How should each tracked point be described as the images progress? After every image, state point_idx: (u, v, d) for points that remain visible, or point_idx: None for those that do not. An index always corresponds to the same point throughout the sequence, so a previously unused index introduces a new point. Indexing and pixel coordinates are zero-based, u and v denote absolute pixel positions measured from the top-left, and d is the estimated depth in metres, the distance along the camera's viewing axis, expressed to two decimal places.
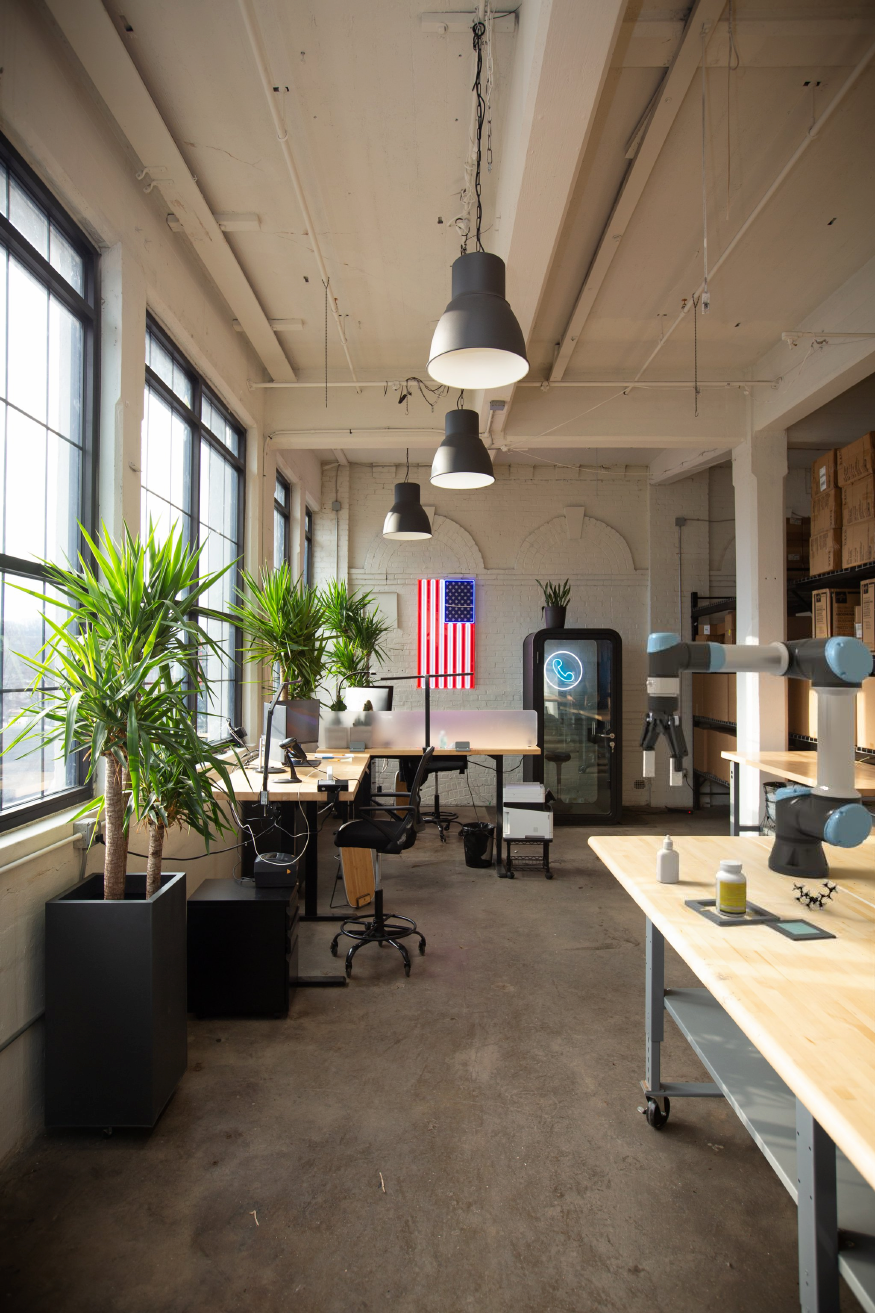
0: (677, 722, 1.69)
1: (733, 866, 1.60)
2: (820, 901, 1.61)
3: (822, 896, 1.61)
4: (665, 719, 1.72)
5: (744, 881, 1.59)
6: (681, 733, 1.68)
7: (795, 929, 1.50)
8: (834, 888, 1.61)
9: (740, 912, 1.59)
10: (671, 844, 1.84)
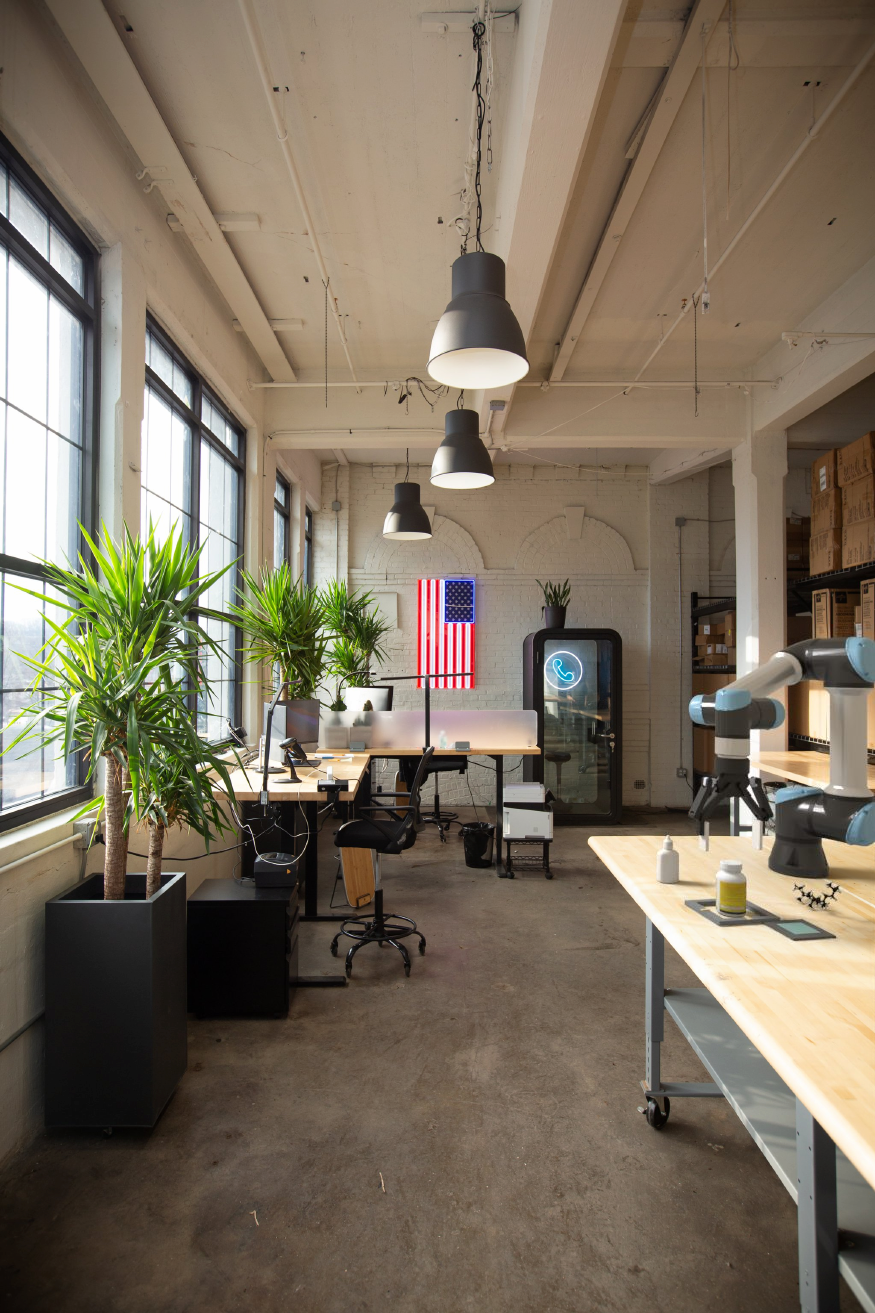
0: (704, 783, 1.60)
1: (733, 866, 1.60)
2: (824, 901, 1.61)
3: (825, 896, 1.61)
4: None
5: (744, 881, 1.59)
6: (701, 795, 1.60)
7: (795, 929, 1.50)
8: (837, 888, 1.61)
9: (740, 912, 1.59)
10: (671, 844, 1.84)
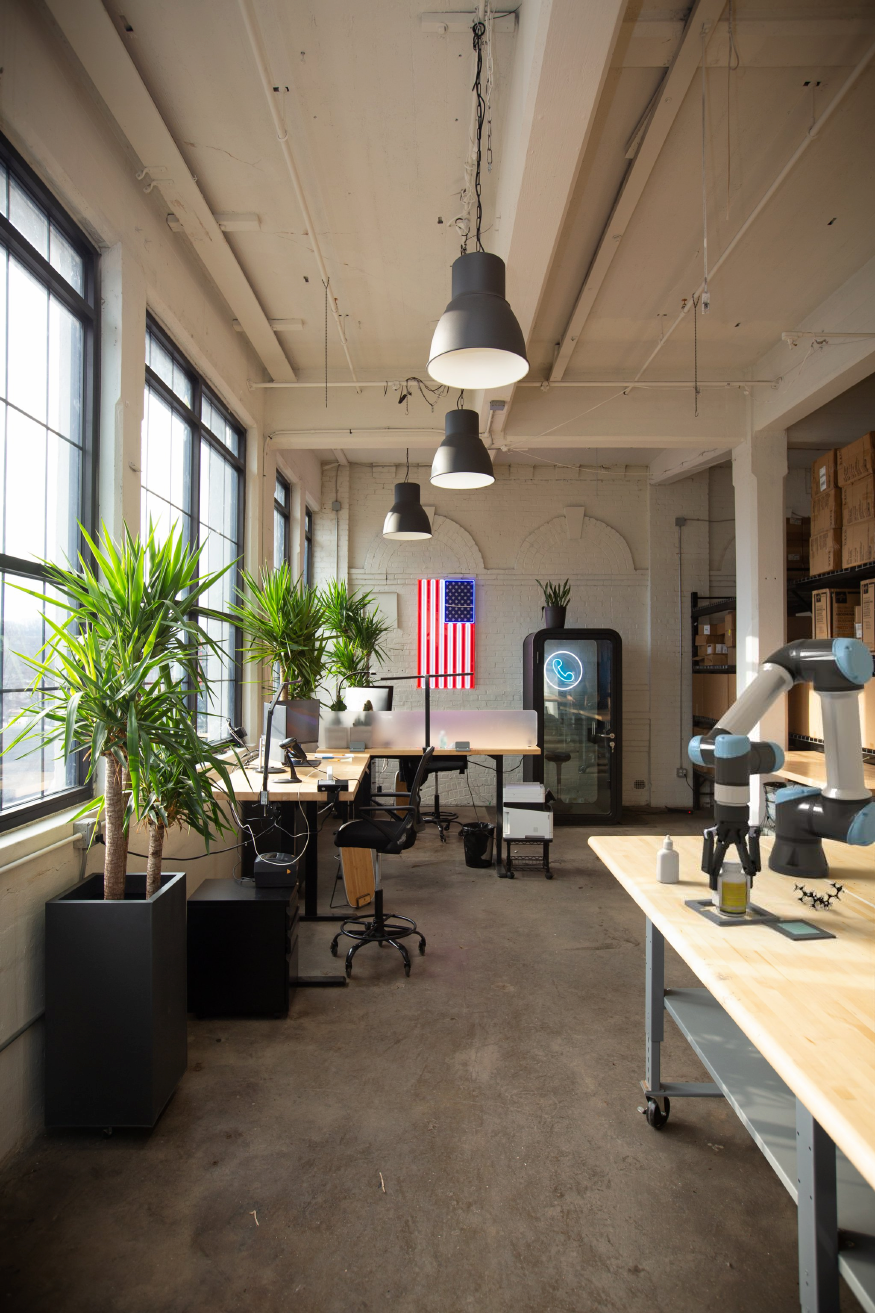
0: (706, 837, 1.60)
1: (733, 866, 1.60)
2: (828, 901, 1.61)
3: (829, 896, 1.61)
4: None
5: (744, 881, 1.59)
6: (707, 849, 1.60)
7: (795, 929, 1.50)
8: (841, 888, 1.61)
9: (740, 911, 1.58)
10: (671, 844, 1.84)
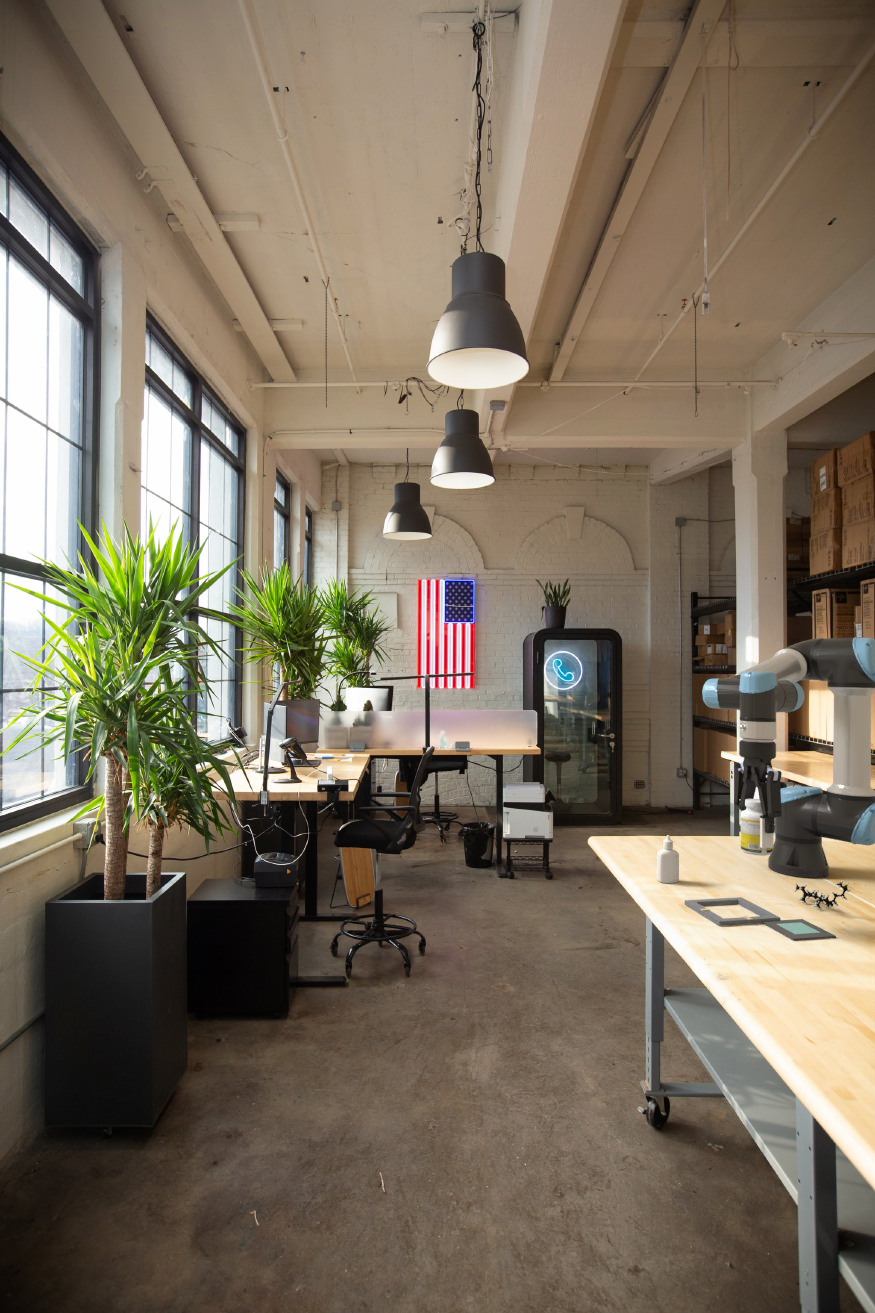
0: (776, 778, 1.52)
1: None
2: (834, 901, 1.61)
3: (836, 896, 1.62)
4: (762, 768, 1.54)
5: None
6: (778, 791, 1.52)
7: (795, 929, 1.50)
8: (846, 887, 1.62)
9: None
10: (671, 844, 1.84)
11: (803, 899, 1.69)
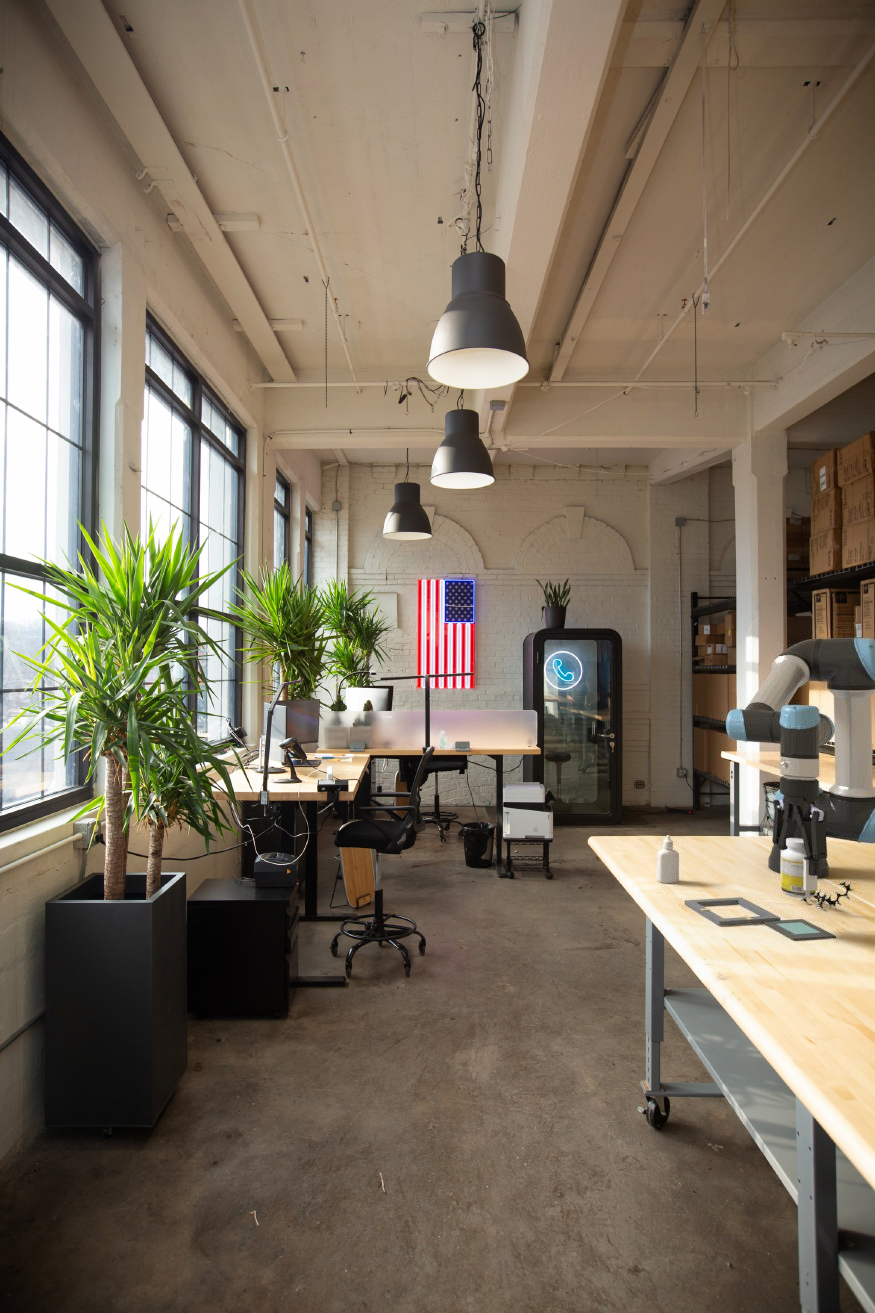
0: (821, 818, 1.45)
1: None
2: (837, 901, 1.62)
3: (839, 895, 1.62)
4: (805, 807, 1.48)
5: None
6: (823, 832, 1.45)
7: (795, 929, 1.50)
8: (849, 886, 1.62)
9: None
10: (671, 844, 1.84)
11: (804, 899, 1.69)
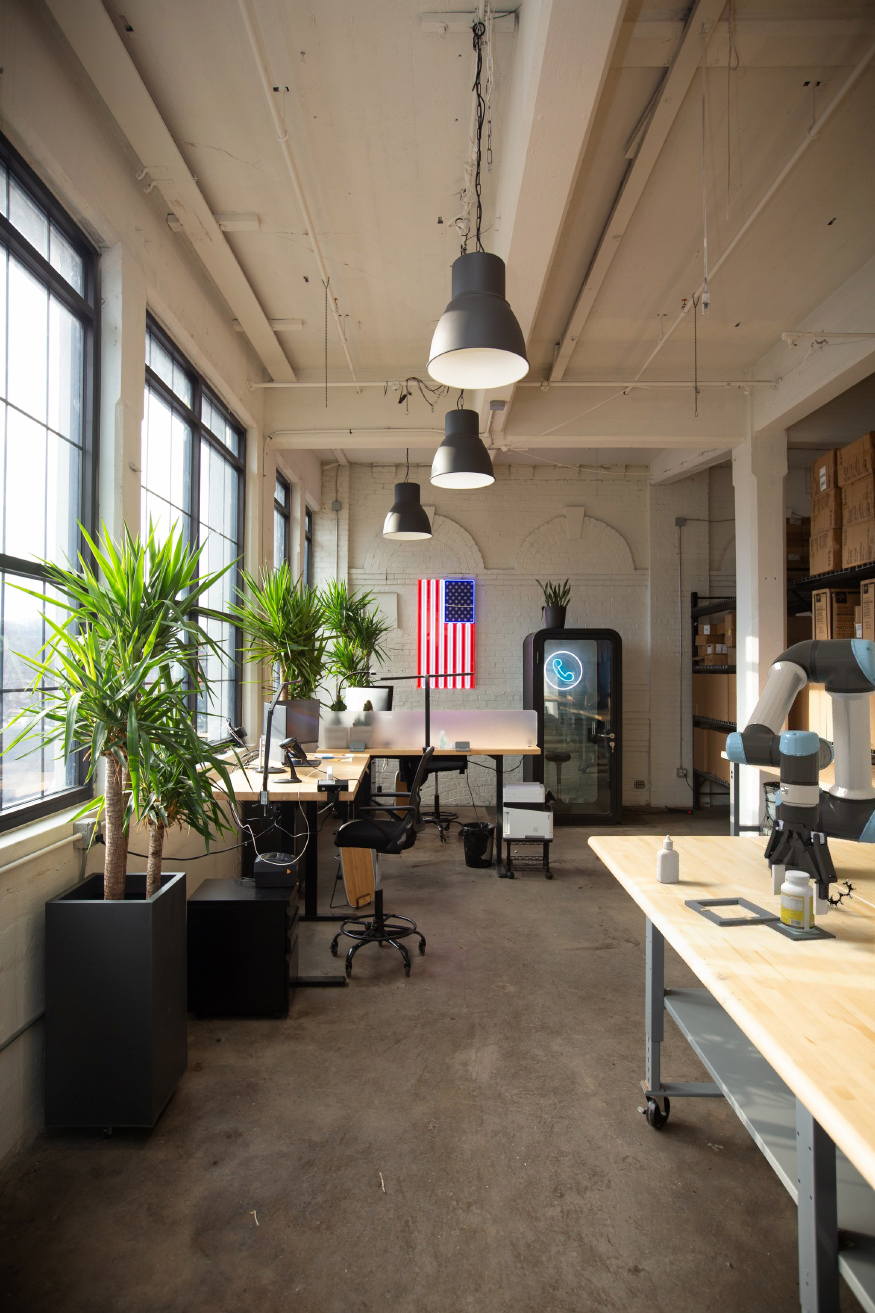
0: (822, 841, 1.45)
1: None
2: (840, 900, 1.62)
3: (841, 895, 1.62)
4: (805, 834, 1.48)
5: None
6: (828, 854, 1.44)
7: None
8: (851, 886, 1.63)
9: None
10: (671, 844, 1.84)
11: None
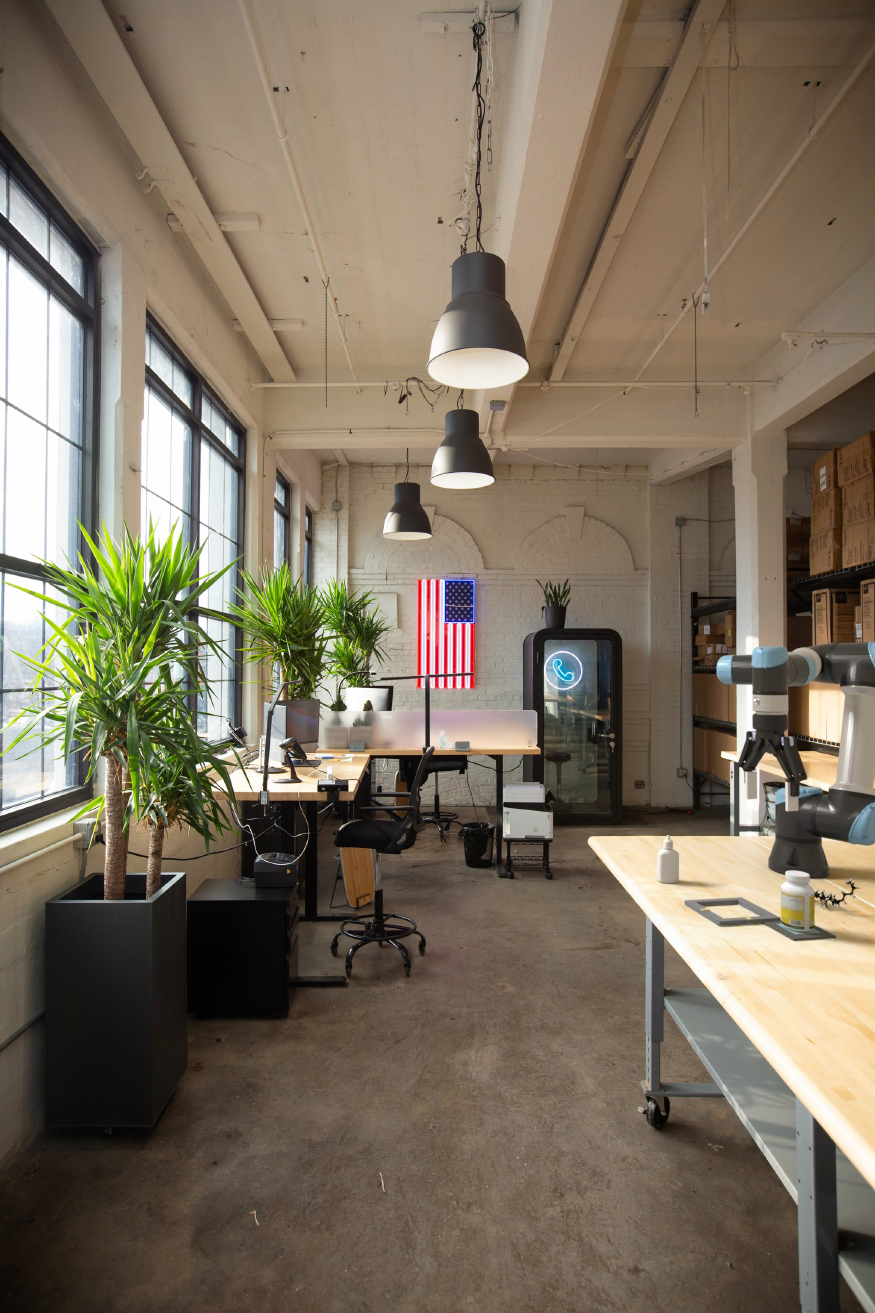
0: (792, 743, 1.57)
1: None
2: (844, 900, 1.62)
3: (845, 894, 1.63)
4: (776, 739, 1.60)
5: None
6: (797, 755, 1.56)
7: None
8: (853, 885, 1.63)
9: None
10: (671, 844, 1.84)
11: None
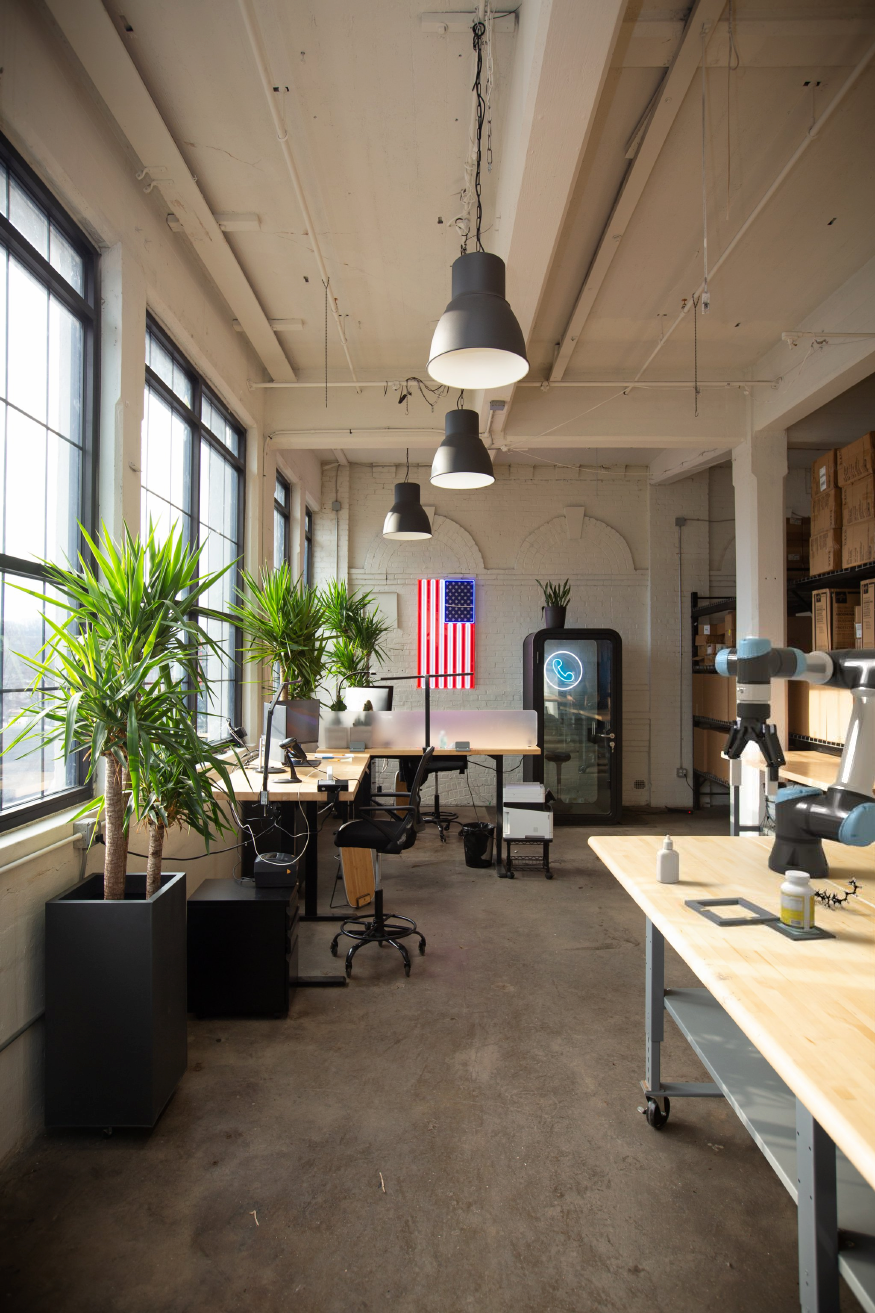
0: (772, 730, 1.64)
1: None
2: (846, 899, 1.63)
3: (847, 894, 1.63)
4: (758, 727, 1.67)
5: None
6: (777, 741, 1.63)
7: None
8: (855, 884, 1.64)
9: None
10: (671, 844, 1.84)
11: None
